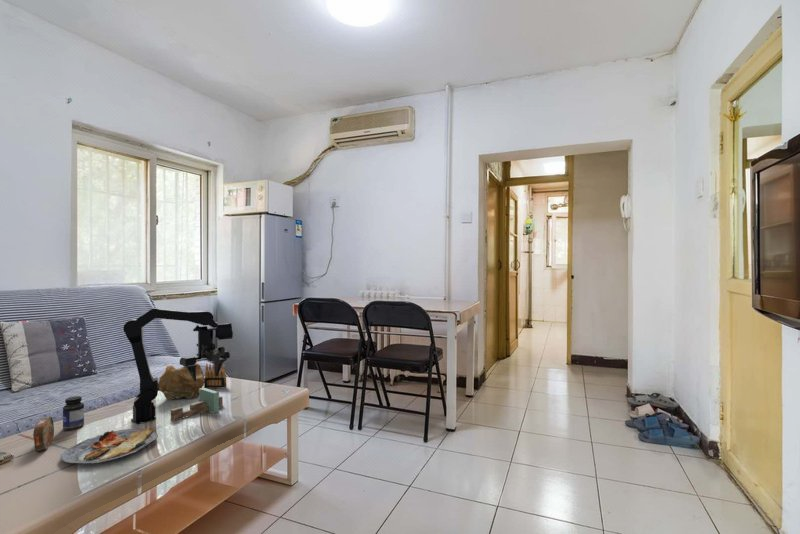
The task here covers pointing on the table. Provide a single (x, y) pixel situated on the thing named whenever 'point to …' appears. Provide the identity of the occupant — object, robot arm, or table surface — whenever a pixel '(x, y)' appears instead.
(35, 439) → the brown patterned slab
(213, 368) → the ammunition clip
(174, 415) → the notched base plate
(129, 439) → the food plate
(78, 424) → the pill bottle
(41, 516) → the table surface
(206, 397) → the notched crosspiece
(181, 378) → the rough brown rock
